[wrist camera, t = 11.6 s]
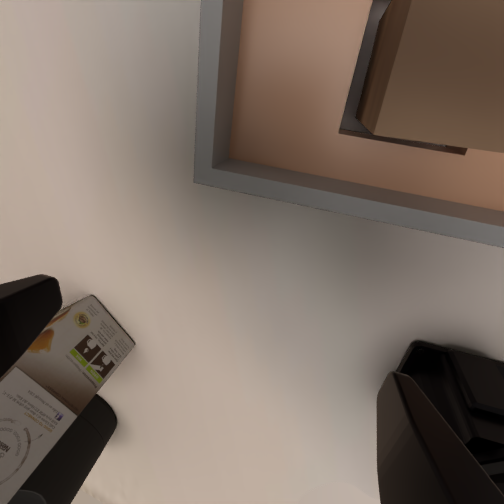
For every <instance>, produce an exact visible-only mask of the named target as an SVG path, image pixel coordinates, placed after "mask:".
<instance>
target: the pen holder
mask: <svg viewBox="0 0 504 504" xmlns="http://www.w3.org/2000/svg"><path fill="white" fill-rule="evenodd" d="M115 427H116V418H115V415H114V413H113V411H112V410H111V408H110V407H109V406H108V404H107V403H106V402H105V401H103V400H102V399H101V398H100V397H99V396H97V395H96V394H95V396H94V397H93V398H92V399H91V401H90V402H89V403H88V404H87V405H86V407H85V408H84V409H83V410H82V412H81V413H80V414H79V415H78V417H77V418H76V419H75V421H74V422H73V423H72V424H71V426H70V427H69V428H68V429H67V430H66V432H65V433H64V434H63V435H62V437H61V438H60V439H59V440H58V442H57V443H56V444H55V445H54V447H53V448H52V449H51V450H50V451H49V453H48V454H47V455H46V456H45V458H44V459H43V460H42V461H41V463H40V464H39V465H38V466H37V468H36V469H35V470H34V471H33V473H32V474H31V475H30V476H29V478H28V479H27V480H26V481H25V483H24V484H23V485H22V486H21V488H20V489H19V490H18V491H17V493H16V494H15V495H14V496H13V498H12V499H11V500H10V501H9V503H8V504H71V502H72V500H73V499H74V497H75V496H76V494H77V492H78V491H79V489H80V487H81V486H82V484H83V482H84V481H85V479H86V477H87V476H88V474H89V472H90V471H91V469H92V468H93V466H94V464H95V463H96V461H97V459H98V458H99V456H100V454H101V453H102V451H103V449H104V447H105V446H106V444H107V442H108V441H109V439H110V437H111V436H112V434H113V432H114V430H115Z"/></svg>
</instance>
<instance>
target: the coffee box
mask: <svg viewBox="0 0 504 504" xmlns="http://www.w3.org/2000/svg"><path fill="white" fill-rule="evenodd" d="M134 345H135V344H134V343H133V341H132V340H131V339H130V338H129V337H128V336H127V334H126V333H125V332H124V331H123V330H122V329H121V328H120V326H119V325H118V324H117V323H116V322H115V321H114V319H113V318H112V317H111V316H110V315H109V314H108V312H107V311H106V310H105V309H104V308H103V307H102V305H101V304H100V303H99V302H98V301H97V299H96V298H95V297H93V296H89V297H86V298H84V299H82V300H80V301H78V302H76V303H74V304H72V305H70V306H68V307H66V308H64V309H62V310H60V311H58V312H57V314H56V315H55V316H54V317H53V319H52V320H51V321H50V322H49V324H48V325H47V326H46V327H45V328H44V330H43V331H42V332H41V333H40V335H39V336H38V337H37V338H36V340H35V341H34V342H33V343H32V345H31V346H30V347H29V348H28V349H27V351H26V352H25V353H24V354H23V355H22V356H21V358H20V359H19V360H18V361H17V362H16V363H15V364H14V365H13V366H12V367H11V368H10V369H9V370H8V371H7V372H6V373H5V374H4V375H3V377H2V378H1V379H0V504H8V503H9V501H10V500H11V499H12V498H13V496H14V495H15V494H16V493H17V491H18V490H19V489H20V488H21V486H22V485H23V484H24V483H25V481H26V480H27V479H28V478H29V476H30V475H31V474H32V473H33V471H34V470H35V469H36V468H37V466H38V465H39V464H40V463H41V461H42V460H43V459H44V458H45V456H46V455H47V454H48V453H49V451H50V450H51V449H52V448H53V447H54V445H55V444H56V443H57V442H58V440H59V439H60V438H61V437H62V435H63V434H64V433H65V432H66V430H67V429H68V428H69V427H70V426H71V424H72V423H73V422H74V421H75V419H76V418H77V417H78V415H79V414H80V413H81V412H82V410H83V409H84V408H85V407H86V405H87V404H88V403H89V402H90V401H91V399H92V398H93V397H94V396H95V394H96V393H97V392H98V390H99V389H100V388H101V387H102V386H103V384H104V383H105V382H106V381H107V379H108V378H109V377H110V376H111V374H112V373H113V372H114V371H115V369H116V368H117V367H118V366H119V364H120V363H121V362H122V361H123V359H124V358H125V357H126V356H127V354H128V353H129V352H130V351H131V350H132V348H133V347H134Z"/></svg>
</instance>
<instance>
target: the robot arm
mask: <svg viewBox="0 0 504 504" xmlns="http://www.w3.org/2000/svg"><path fill="white" fill-rule="evenodd" d="M62 302H63V300H62V295H61V291H60V286H59V282H58V280H57V279H56V278H54V277H51V276H48V275H43V274H40V275H35V276H31V277H28V278H24V279H20V280H16V281H12V282H8V283H4V284H0V379H1V378H2V377H3V375H4V374H5V373H6V372H7V371H8V370H9V369H10V368H11V367H12V366H13V365H14V364H15V363H16V362H17V361H18V360H19V359H20V358H21V356H22V355H23V354H24V353H25V352H26V351H27V349H28V348H29V347H30V346H31V345H32V343H33V342H34V341H35V340H36V338H37V337H38V336H39V335H40V333H41V332H42V331H43V330H44V328H45V327H46V326H47V325H48V324H49V322H50V321H51V320H52V319H53V317H54V316H55V315H56V314H57V312H58V311H59V310H60V308H61V306H62ZM417 349H421V350H417ZM377 472H378V484H379V493H380V502H381V504H504V363H501V362H497V361H493V360H490V359H486V358H482V357H478V356H474V355H470V354H466V353H463V352H459V351H455V350H451V349H447V348H443V347H439V346H436V345H432V344H428V343H424V342H414V343H413V344H412V345H411V346H410V348H409V350H408V352H407V353H406V355H405V357H404V359H403V361H402V362H401V364H400V366H399V368H398V370H397V372H395V371H392V372H390V373H389V374H388V376H387V378H386V379H385V381H384V383H383V385H382V387H381V389H380V391H379V393H378V396H377Z"/></svg>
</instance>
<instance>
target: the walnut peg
mask: <svg viewBox="0 0 504 504" xmlns="http://www.w3.org/2000/svg"><path fill="white" fill-rule="evenodd" d="M355 118H356V119H357V120H358V121H360V122H361V123H362V124H363V125H364V126H365V127H366V128H367V129H368V130H369V131H370V132H371V133H372V134H373V135H377V136H384V137H392V138H399V139H406V140H413V141H420V142H427V143H435V144H442V145H449V146H456V147H463V148H470V149H478V150H485V151H492V152H499V153H504V0H392V1H391V3H390V4H389V6H388V8H387V9H386V11H385V12H384V14H383V16H382V17H381V19H380V21H379V25H378V29H377V33H376V37H375V41H374V45H373V49H372V53H371V57H370V61H369V65H368V69H367V73H366V77H365V81H364V85H363V89H362V93H361V97H360V101H359V105H358V109H357V112H356V116H355Z"/></svg>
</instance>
